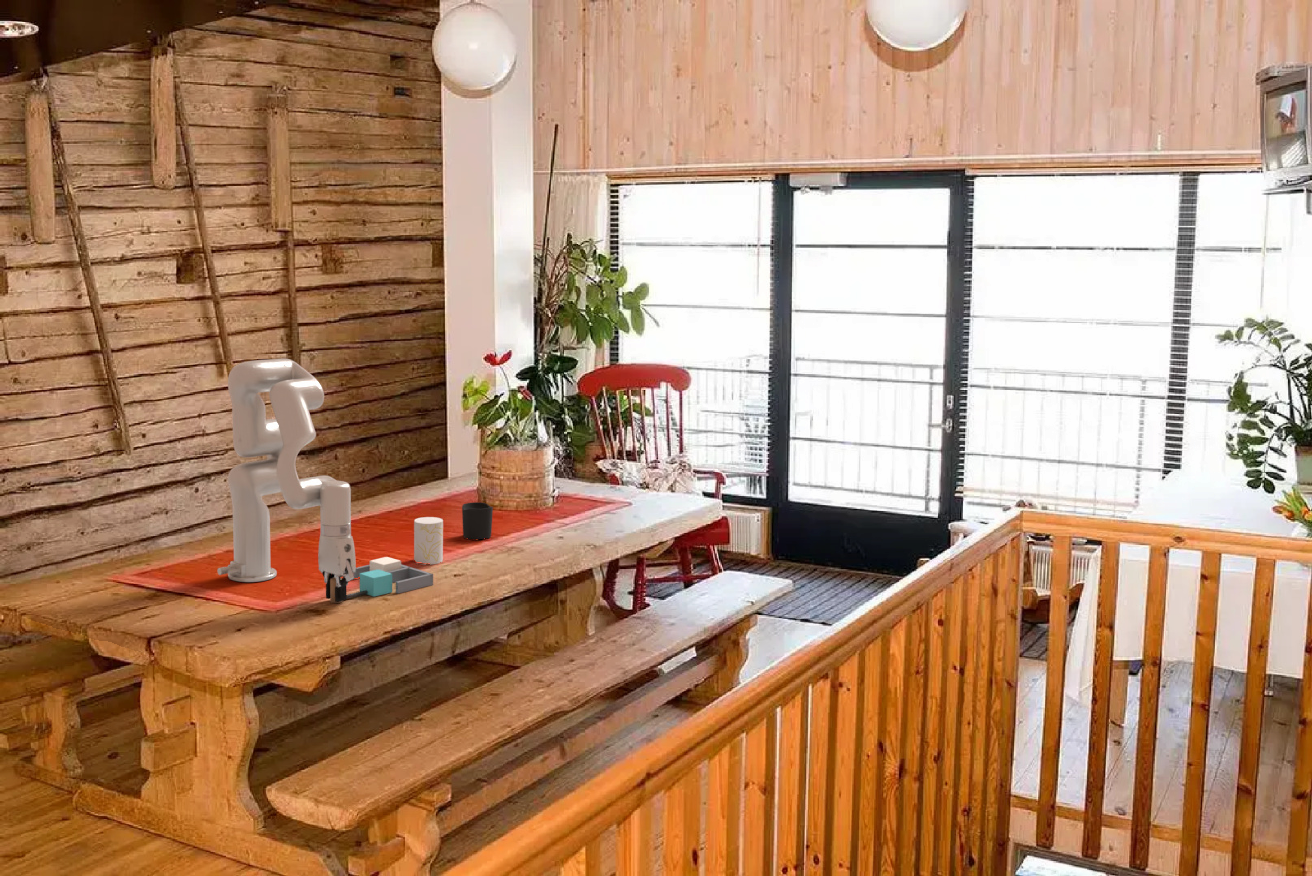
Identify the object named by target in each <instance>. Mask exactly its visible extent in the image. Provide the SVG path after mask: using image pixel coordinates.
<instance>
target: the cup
mask: <svg viewBox="0 0 1312 876" xmlns="http://www.w3.org/2000/svg"><path fill="white" fill-rule="evenodd" d="M413 531H414V532H413V535H414V536H413V537H414V538H413V544H414V545H413V546H414V547H413V561H414V560H415V561H416V562H422V563H430V565H437V564H441V563H442V562H443V560H444V556H443V555H444V546H443V545H444V520H443V518H440V517H436V516H435V517H434V516H424V517H418V518H415V519H414V522H413ZM440 562H441V563H440Z"/></svg>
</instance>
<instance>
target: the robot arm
mask: <svg viewBox="0 0 1312 876" xmlns="http://www.w3.org/2000/svg"><path fill="white" fill-rule="evenodd" d="M227 388H228V393H229V398H230V401H231V407H232V409H231V411H232V414H231V415H232V417H231V418H232V444H233V449H234V452H235V454H237V456H239V457H240V458H257V457H265V456H266V458H267V459H261V460H259V459H258V460H253V461H247V462H243V463H240V464H239V463H238V464H237V465H235V466H233V467H232V469H230V471H229V472H228V476H227V484H228V489H229V493H230V498H231V499H230V500H231V506H232V526H233V527H232V531H233V532H232V535H233V560H231V561H230V564H228V565H227V566H222V567H218V568H217V574H218V575H219V576H222V575H226V574H227V577H228V579H229V580H231V581H234V582H242V583H255V582H264V581H268V580H271V579H274V578H275V577H276V576H277V573H278V572H277V570H276V568H273V567H271V517H270V515H271V514H270V510H269V507H268V505H267V504H266V503H265V501H264V499H263V496H267V495H273V494H278V493H281V495H282V497H283V499H284V501H285V503H286V504H287V506H288V507H289V508H291V509H294V510H303V509H308V508H313V507H318V506H319V507H320V509H319V510H320V511H319V512H320V535H319V540H318V551H317V554H318V555H317V556H318V558H317V559H318V570H319V572H320V573H321V574H322V576H323V578H324V580H323V581H324V583H325V598H326V599H327V600H329V599H330V579H331V578H334V577H336V585H337V586H336V587H335V601H336V602H340V601H342V602H343V601H346V600H347V599H346V595H347V586H348V585H349V582H350V581H352V580H355V579H354V576H353V573H355V571H356V568H357V567H356V565H357V564H356V563H357V562H356V551H355V550H356V549H355V542H354V538H353V536H352V523H351V522H352V519H351V518H352V515H351V514H352V513H351V512H352V501H351V498H352V495H351V494H352V493H351V492H352V489H351V485H350V483H349V482H347V481H343V480H336V479H335V478H334V477H331V476H330V475H318V476H317V475H316V476H311V477H305V478H299V476H298V472H297V468H296V467H297V465H296V459H297V456H298V454H299V453H300V451H301V450H302V449H303V448H304V447H305V446H306V445H307V446H308V445H309V444H310V443H311V442H312V441H314V440H315V439H316V436H317V433H316V430H315V427H314V426H315V425H314V424H313V421H312V416H311V414H310V411H311V410H317V409H319V408H320V407H321V406H323V404H324V401H325V392H324V388H323V386H322V385H321V384H320V382H319V381H318V379H317V378H316V377H315V376H314V375H312V374H311V373H310V372H308V371H307V370H306V369H305V368H303V366H301V365H300V364H298V362H296V361H294V360H293V359H289V358H274V359H273V358H272V359H258V360H257V359H255V360H249V361H244V362H240V363H238V364H236V365H234V367H232V368H231V370H230V371H229V374H228V377H227ZM268 392H269V393H268ZM260 393H268V394H269V395H268V396H269V401H270V404H271V407H272V410H273V414H274V417H275V418H272V419H271V418H270V419H267V418H266V417H267V416H266V413H267V412H266V411H267V410H266V404H265V402H264V400H263V398H262V396H261V395H260ZM341 578H342V579H341Z"/></svg>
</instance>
